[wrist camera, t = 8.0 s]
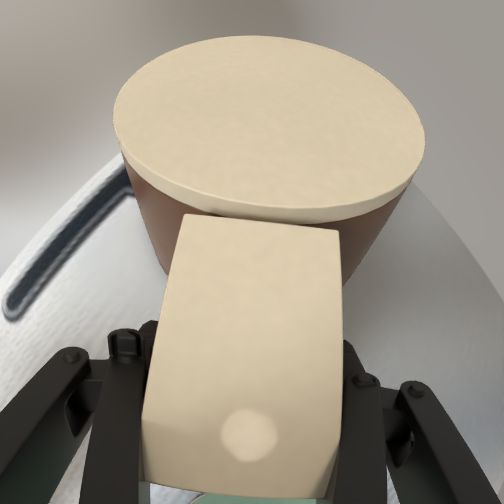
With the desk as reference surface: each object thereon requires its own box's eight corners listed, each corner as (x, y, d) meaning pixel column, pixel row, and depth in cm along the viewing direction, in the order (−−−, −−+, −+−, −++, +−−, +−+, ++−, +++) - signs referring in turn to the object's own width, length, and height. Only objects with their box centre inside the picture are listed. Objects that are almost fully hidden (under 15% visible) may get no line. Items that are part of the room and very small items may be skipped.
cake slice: (287, 332, 19) (339, 229, 10) (277, 459, 15) (336, 498, 6) (206, 323, 19) (184, 212, 10) (189, 450, 15) (132, 478, 6)
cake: (327, 145, 29) (354, 43, 20) (389, 300, 21) (479, 200, 11) (155, 155, 27) (136, 45, 18) (152, 332, 19) (82, 231, 9)
